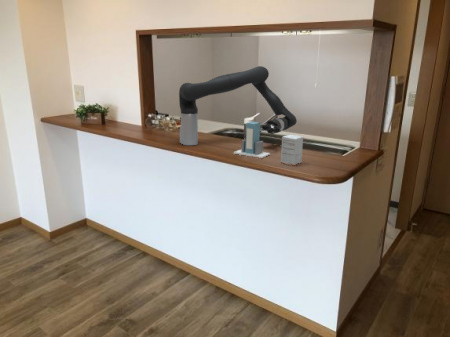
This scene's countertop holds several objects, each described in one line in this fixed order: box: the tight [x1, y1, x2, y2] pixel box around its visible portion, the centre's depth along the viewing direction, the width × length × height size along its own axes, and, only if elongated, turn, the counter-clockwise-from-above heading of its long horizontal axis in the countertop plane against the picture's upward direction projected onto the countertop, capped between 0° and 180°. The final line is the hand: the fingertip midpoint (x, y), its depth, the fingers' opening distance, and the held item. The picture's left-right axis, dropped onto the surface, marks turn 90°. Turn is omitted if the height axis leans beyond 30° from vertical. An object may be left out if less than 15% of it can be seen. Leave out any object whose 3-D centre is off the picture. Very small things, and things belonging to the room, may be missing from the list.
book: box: [245, 121, 261, 154], centre depth 183 cm, size 4×6×15 cm
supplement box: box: [280, 134, 304, 165], centre depth 171 cm, size 7×7×13 cm
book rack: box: [233, 138, 271, 158], centre depth 184 cm, size 16×9×7 cm, turn 57°
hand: (261, 130), depth 189 cm, fingers open, 8 cm apart
